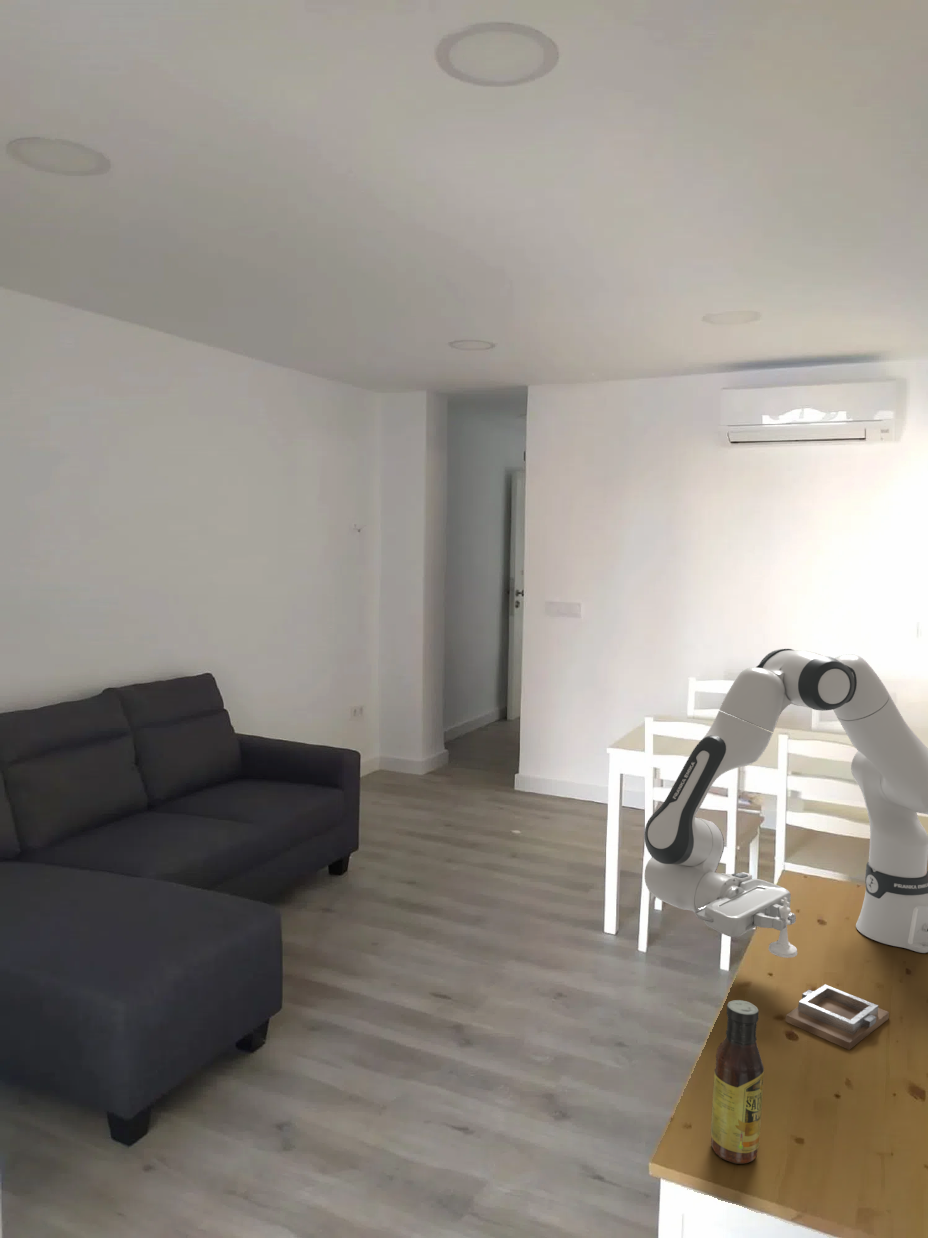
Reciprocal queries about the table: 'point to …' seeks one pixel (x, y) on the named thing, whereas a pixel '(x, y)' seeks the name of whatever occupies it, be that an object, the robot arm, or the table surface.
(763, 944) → the table surface
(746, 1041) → the sauce bottle
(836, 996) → the square frame tray
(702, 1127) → the table surface
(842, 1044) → the socket board
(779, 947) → the chess piece
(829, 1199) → the table surface
